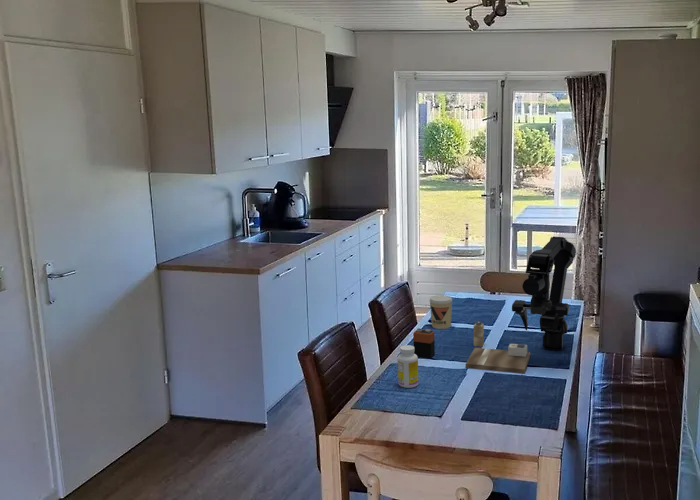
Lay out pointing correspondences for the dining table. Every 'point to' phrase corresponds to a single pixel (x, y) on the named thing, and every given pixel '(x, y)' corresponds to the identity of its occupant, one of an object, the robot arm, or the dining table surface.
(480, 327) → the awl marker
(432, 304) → the coffee cup
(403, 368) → the supplement bottle
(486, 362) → the board
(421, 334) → the battery
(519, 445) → the dining table surface
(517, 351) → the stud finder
